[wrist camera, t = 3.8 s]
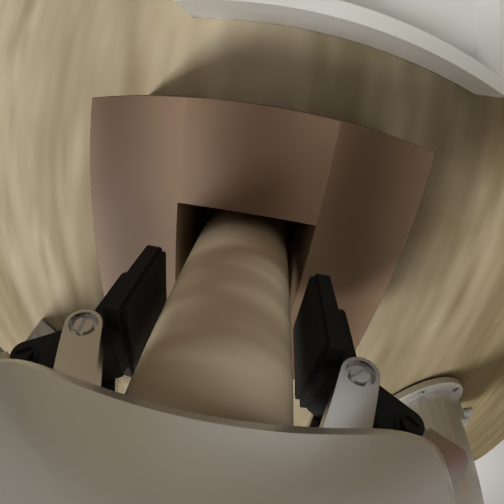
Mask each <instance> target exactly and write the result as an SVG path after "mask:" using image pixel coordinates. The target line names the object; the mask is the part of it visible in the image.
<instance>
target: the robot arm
mask: <svg viewBox="0 0 504 504" xmlns="http://www.w3.org/2000/svg"><path fill="white" fill-rule="evenodd" d="M166 301H167V290H166V252H165V251H162V248H161V247H157V246H151V245H147V246H146V247H145V249H144V250H143V251H142V253H141V254H140V255H139V257H138V258H137V259H136V260H135V262H134V263H133V264H132V266H131V267H130V268H129V270H128V271H127V273H126V272H124V273H122V274H121V275H120V276H119V278H118V279H117V280H116V282H115V283H114V285H113V286H112V287H111V289H110V290H109V291H108V293H107V294H106V296H105V297H104V298H103V300H102V301H101V303H100V304H99V305H98V307H97V308H96V310H95V311H93V310H89V309H82V310H78V311H75V312H73V313H72V314H70V315H69V316H68V317H67V318H66V320H65V322H64V326H63V329H62V330H60V331H57V332H54V333H51V334H47V335H44V336H41V337H38V338H35V339H31V340H28V341H25V342H22V343H20V344H18V345H17V346H16V347H14V349H13V350H12V351H11V354H8V352H3V353H0V504H484V501H483V497H482V492H481V487H480V483H479V478H478V475H477V470H476V467H475V463H474V459H473V456H472V452H471V449H470V445H469V442H468V439H467V436H466V433H465V429H464V427H465V426H467V424H468V422H469V417H470V416H472V414H473V408H472V407H467V408H464V409H462V407H461V404H460V402H459V400H460V398H461V396H462V393H463V388H462V386H461V383H460V381H459V380H458V379H456V378H453V377H439V378H434V379H430V380H427V381H423V382H421V383H418V384H416V385H413V386H411V387H409V388H407V389H404V390H403V391H401V392H399V393H397V394H395V395H394V396H393V395H392V394H390V393H389V392H388V391H386V390H385V389H384V388H382V387H381V386H380V373H379V370H378V368H377V367H376V366H375V365H374V364H373V363H372V362H371V361H369V360H367V359H365V358H361V357H356V352H355V348H354V344H353V340H352V336H351V332H350V328H349V324H348V320H347V316H346V313H345V311H344V310H342V309H338V305H337V301H336V297H335V293H334V289H333V285H332V281H331V278H330V276H329V275H323V274H317V273H316V274H315V276H314V277H313V276H310V278H309V281H308V284H307V287H306V290H305V293H304V297H303V300H302V303H301V306H300V309H299V312H298V315H297V318H296V321H295V324H294V328H293V346H294V374H295V398H296V399H300V407H304V408H307V409H308V410H309V411H310V412H311V413H312V415H311V418H310V420H309V423H308V426H307V427H301V426H286V425H275V424H265V423H256V422H249V421H241V420H234V419H228V418H222V417H216V416H210V415H205V414H200V413H195V412H190V411H185V410H181V409H176V408H172V407H168V406H164V405H160V404H156V403H152V402H149V401H145V400H141V399H138V398H134V397H131V396H128V395H125V394H121V393H118V378H119V377H122V376H123V375H127V376H130V377H132V376H133V374H134V371H135V369H136V367H137V364H138V362H139V360H140V357H141V355H142V353H143V351H144V348H145V346H146V344H147V342H148V340H149V337H150V335H151V333H152V331H153V329H154V326H155V324H156V322H157V320H158V318H159V316H160V314H161V312H162V309H163V307H164V305H165V303H166Z"/></svg>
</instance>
